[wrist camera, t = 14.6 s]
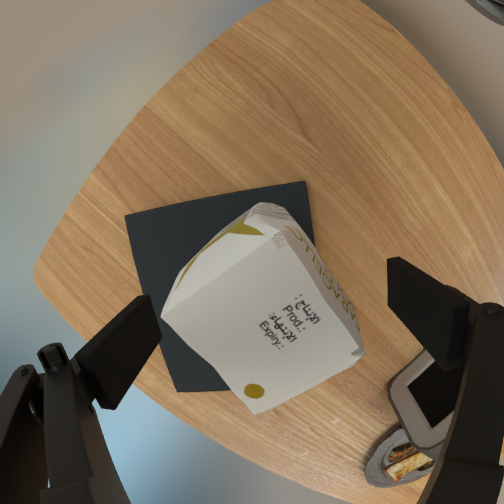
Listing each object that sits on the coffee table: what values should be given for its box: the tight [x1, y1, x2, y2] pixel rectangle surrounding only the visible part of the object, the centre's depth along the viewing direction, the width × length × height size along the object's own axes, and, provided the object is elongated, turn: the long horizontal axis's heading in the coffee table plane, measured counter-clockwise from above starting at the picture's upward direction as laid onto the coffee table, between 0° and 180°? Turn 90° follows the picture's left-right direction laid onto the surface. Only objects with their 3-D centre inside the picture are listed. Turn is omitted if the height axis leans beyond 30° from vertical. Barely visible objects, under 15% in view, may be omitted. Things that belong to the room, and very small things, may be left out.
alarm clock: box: [388, 349, 467, 462], centre depth 25 cm, size 16×11×16 cm
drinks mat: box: [125, 181, 315, 392], centre depth 32 cm, size 24×20×1 cm
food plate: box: [365, 428, 436, 488], centre depth 35 cm, size 25×23×4 cm
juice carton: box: [161, 202, 366, 415], centre depth 21 cm, size 8×9×19 cm
